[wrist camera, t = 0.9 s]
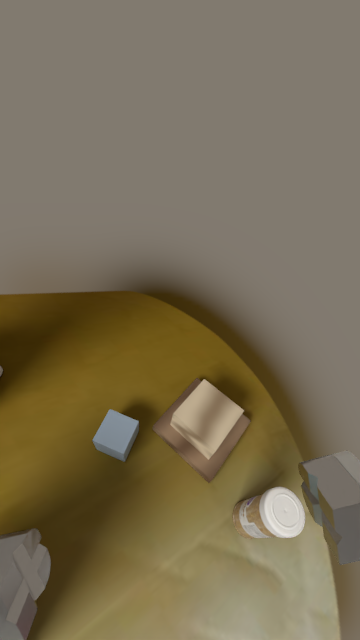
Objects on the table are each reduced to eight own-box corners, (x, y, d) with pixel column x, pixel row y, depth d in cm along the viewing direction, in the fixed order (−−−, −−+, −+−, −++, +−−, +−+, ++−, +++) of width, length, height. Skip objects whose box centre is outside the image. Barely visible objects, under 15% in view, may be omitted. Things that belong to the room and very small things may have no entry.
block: (96, 449, 43) (92, 440, 39) (112, 420, 46) (109, 409, 42) (124, 462, 42) (123, 454, 38) (138, 431, 45) (138, 421, 41)
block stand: (152, 429, 46) (154, 414, 40) (195, 382, 52) (201, 364, 47) (208, 483, 42) (219, 473, 36) (247, 424, 48) (261, 409, 43)
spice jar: (240, 493, 41) (275, 476, 31) (267, 515, 40) (312, 505, 30) (225, 523, 39) (258, 515, 28) (253, 548, 37) (298, 549, 27)
